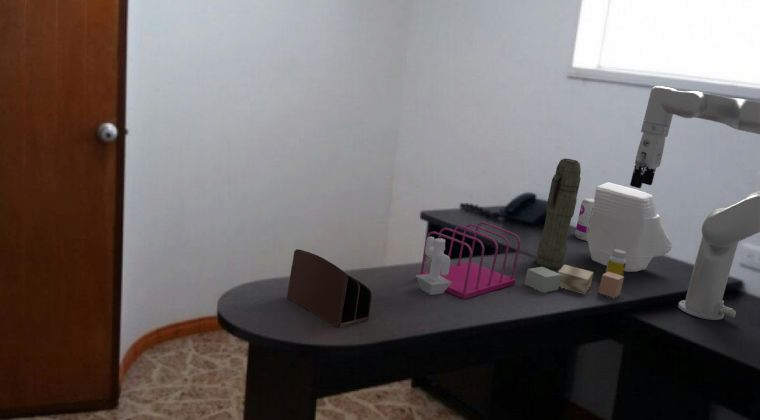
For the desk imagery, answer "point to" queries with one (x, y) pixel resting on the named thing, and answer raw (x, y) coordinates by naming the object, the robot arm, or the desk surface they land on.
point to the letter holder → (327, 290)
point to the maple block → (575, 278)
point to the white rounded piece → (626, 227)
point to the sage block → (542, 279)
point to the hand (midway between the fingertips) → (640, 185)
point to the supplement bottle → (617, 262)
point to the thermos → (559, 214)
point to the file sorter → (474, 266)
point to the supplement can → (584, 218)
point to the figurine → (435, 268)
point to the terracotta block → (611, 284)
